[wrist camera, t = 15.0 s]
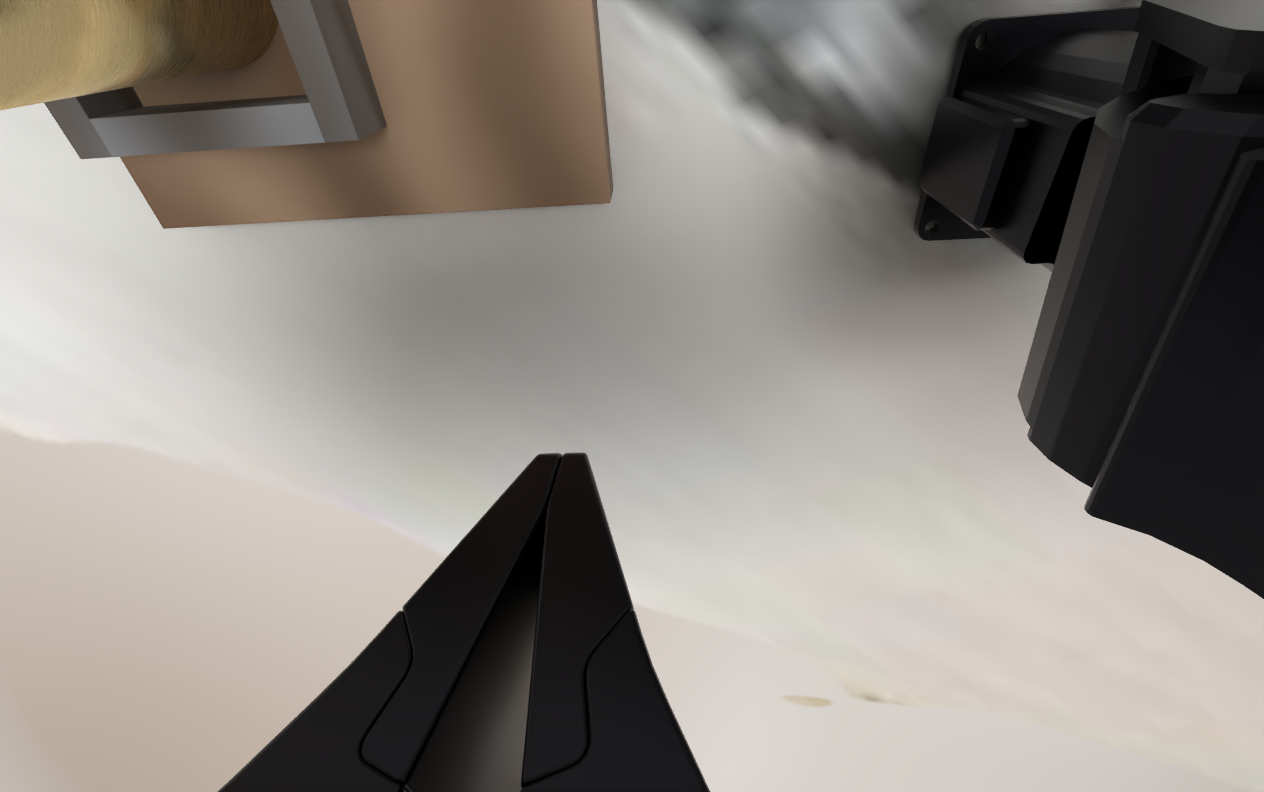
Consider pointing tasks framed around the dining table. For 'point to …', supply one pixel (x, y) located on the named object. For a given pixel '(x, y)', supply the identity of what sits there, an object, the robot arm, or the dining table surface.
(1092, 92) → the robot arm
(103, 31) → the solid brass cylinder
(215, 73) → the jig
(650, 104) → the dining table surface
